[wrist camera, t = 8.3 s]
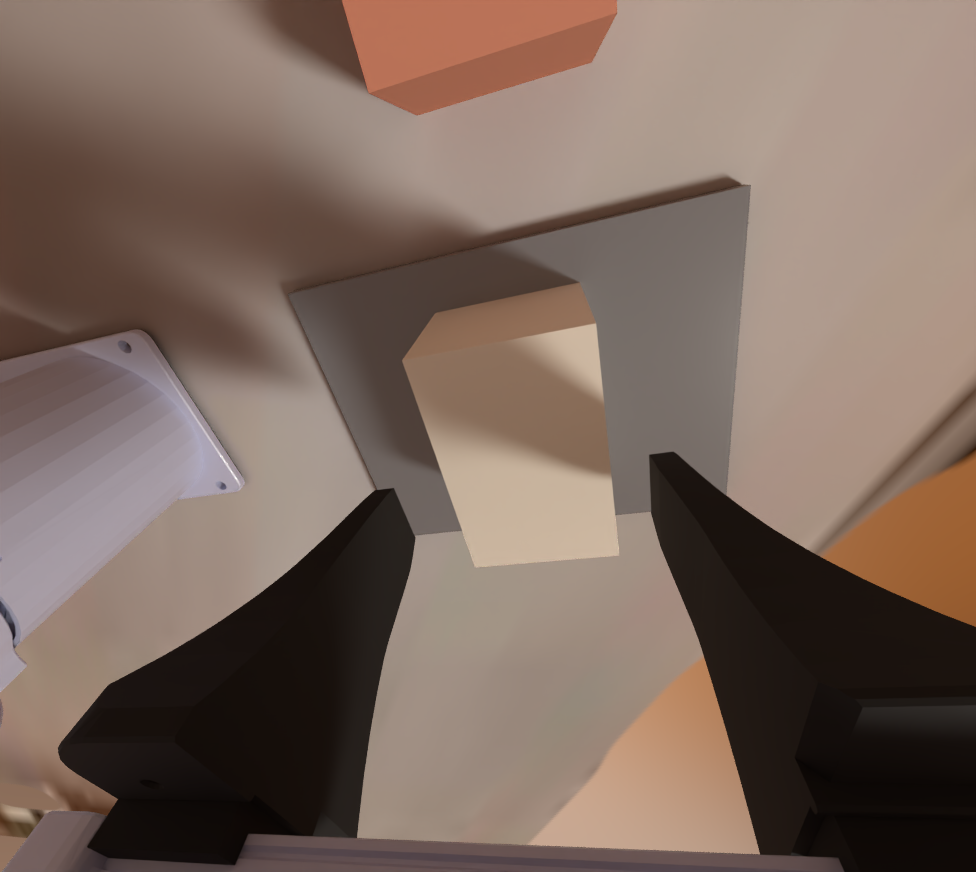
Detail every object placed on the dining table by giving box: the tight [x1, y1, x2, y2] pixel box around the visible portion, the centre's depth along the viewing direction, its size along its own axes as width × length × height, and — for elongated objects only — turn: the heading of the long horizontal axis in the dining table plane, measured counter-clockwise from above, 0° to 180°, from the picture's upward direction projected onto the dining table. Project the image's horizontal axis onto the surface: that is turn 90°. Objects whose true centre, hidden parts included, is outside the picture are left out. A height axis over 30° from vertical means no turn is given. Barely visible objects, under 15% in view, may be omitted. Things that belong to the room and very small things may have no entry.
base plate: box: [288, 185, 751, 535], centre depth 17 cm, size 15×12×1 cm
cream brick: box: [402, 282, 619, 567], centre depth 14 cm, size 5×8×4 cm, turn 13°
